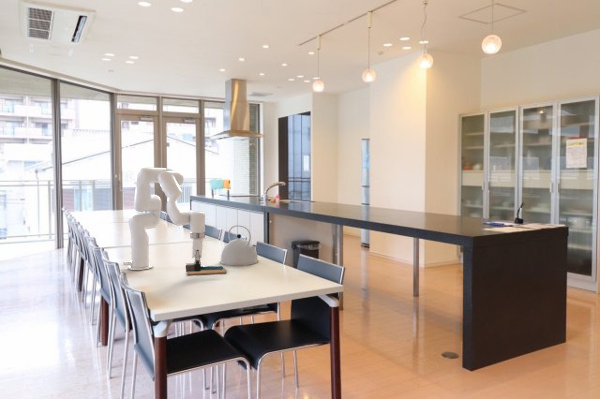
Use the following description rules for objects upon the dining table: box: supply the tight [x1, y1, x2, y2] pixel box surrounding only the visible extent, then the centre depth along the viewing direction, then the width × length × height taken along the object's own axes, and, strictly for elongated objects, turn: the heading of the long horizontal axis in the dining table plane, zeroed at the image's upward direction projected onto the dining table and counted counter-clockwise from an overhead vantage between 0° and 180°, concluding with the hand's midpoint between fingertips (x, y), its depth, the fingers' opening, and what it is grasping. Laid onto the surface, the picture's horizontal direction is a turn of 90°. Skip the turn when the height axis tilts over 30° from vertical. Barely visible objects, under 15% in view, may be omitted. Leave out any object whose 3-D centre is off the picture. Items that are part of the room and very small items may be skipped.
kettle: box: [220, 224, 259, 266], centre depth 281 cm, size 25×23×22 cm
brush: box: [185, 262, 224, 273], centre depth 239 cm, size 19×4×4 cm, turn 103°
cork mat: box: [187, 267, 227, 276], centre depth 253 cm, size 20×12×1 cm, turn 103°
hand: (197, 269), depth 238 cm, fingers closed on brush, 4 cm apart
